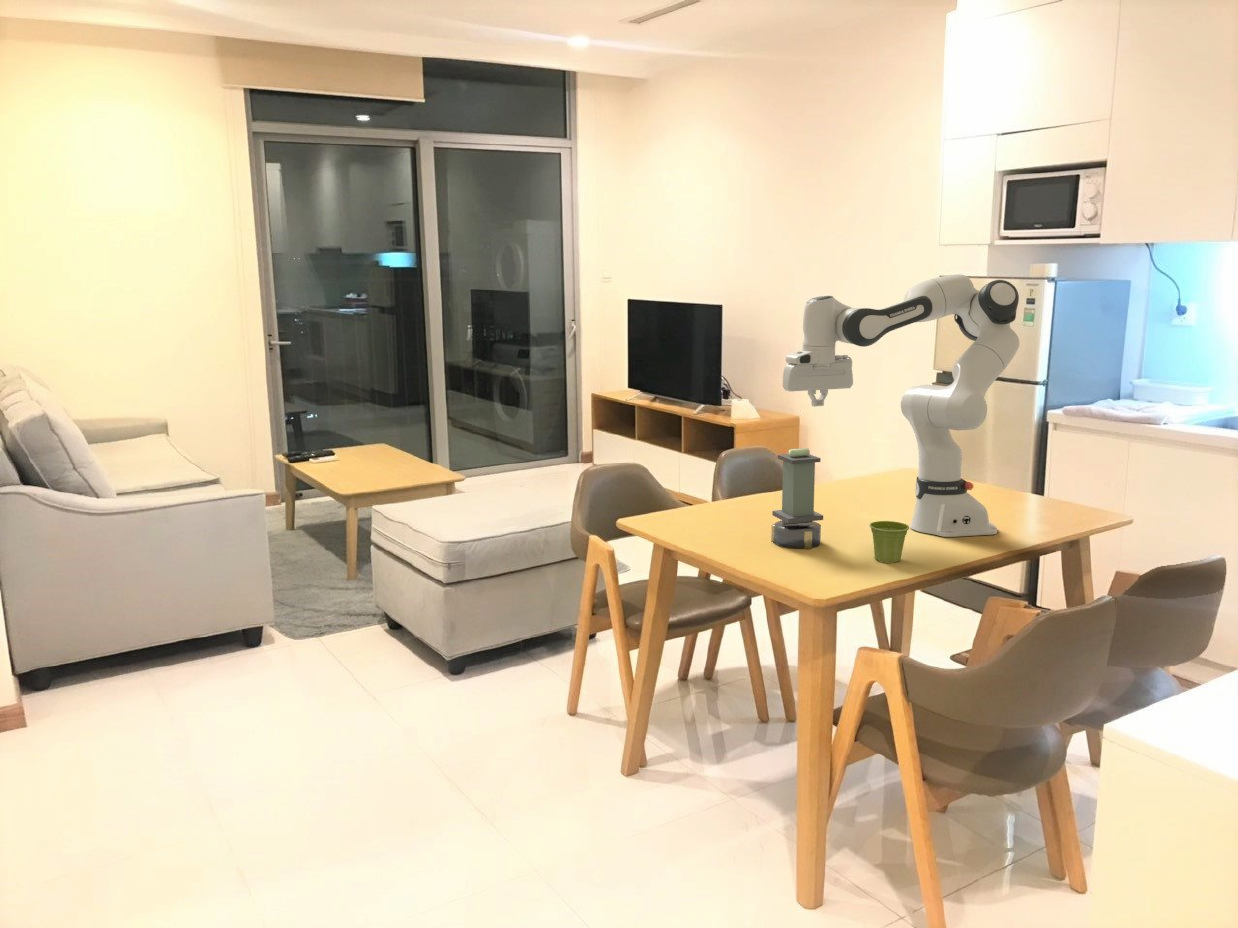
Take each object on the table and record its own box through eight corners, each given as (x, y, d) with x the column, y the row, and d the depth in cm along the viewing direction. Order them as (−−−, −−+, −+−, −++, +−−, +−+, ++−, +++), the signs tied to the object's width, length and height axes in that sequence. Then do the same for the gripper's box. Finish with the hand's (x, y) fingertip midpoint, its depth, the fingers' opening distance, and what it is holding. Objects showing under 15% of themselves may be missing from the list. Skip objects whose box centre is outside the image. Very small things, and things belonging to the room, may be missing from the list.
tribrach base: (806, 535, 267) (806, 517, 266) (830, 547, 255) (830, 528, 254) (766, 539, 263) (766, 521, 262) (788, 551, 251) (788, 533, 251)
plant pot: (907, 555, 246) (909, 521, 245) (908, 566, 237) (909, 531, 236) (868, 553, 249) (870, 519, 247) (867, 563, 240) (868, 529, 238)
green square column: (806, 517, 264) (808, 444, 260) (823, 525, 256) (825, 450, 252) (772, 521, 261) (773, 447, 257) (788, 529, 253) (789, 453, 249)
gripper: (846, 353, 278) (844, 402, 281) (780, 356, 272) (779, 406, 275) (858, 355, 272) (856, 405, 275) (791, 358, 266) (790, 409, 269)
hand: (817, 406), depth 275 cm, fingers closed
